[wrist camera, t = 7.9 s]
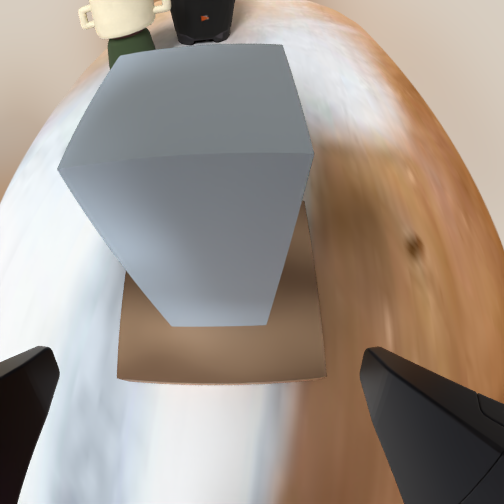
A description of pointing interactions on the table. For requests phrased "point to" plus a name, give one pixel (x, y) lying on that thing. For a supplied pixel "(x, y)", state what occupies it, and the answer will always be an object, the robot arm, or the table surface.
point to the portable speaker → (202, 19)
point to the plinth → (230, 335)
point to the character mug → (123, 24)
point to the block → (196, 176)
